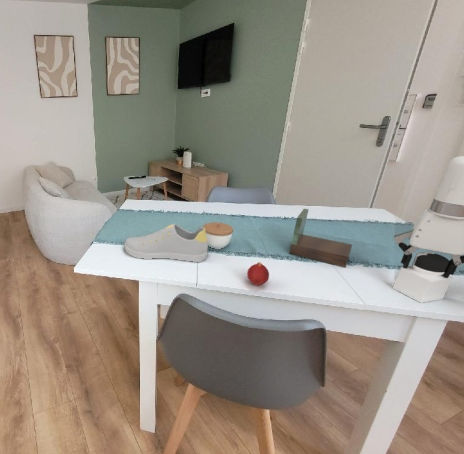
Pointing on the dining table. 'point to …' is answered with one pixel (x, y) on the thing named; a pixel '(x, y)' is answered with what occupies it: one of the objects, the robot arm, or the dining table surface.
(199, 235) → the shoe
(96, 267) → the dining table surface
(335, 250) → the brown hinged box
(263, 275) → the onion
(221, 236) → the trinket box
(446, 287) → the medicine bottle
